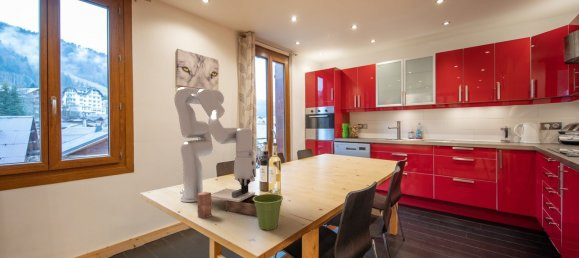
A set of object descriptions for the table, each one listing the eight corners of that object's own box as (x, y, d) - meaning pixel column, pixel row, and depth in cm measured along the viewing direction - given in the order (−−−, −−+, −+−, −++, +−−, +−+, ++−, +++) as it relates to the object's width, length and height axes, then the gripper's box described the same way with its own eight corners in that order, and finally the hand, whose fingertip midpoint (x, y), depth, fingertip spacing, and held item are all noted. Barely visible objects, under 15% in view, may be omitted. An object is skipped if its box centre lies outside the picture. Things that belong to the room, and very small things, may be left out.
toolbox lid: (208, 197, 114) (208, 190, 114) (226, 190, 126) (226, 183, 126) (238, 202, 107) (238, 194, 106) (254, 194, 118) (254, 187, 118)
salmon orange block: (197, 217, 104) (197, 194, 104) (204, 213, 107) (204, 191, 107) (204, 218, 102) (204, 195, 102) (211, 215, 106) (211, 192, 106)
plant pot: (289, 225, 94) (289, 197, 94) (267, 236, 85) (267, 205, 85) (269, 218, 102) (268, 191, 101) (246, 227, 93) (246, 198, 93)
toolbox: (225, 211, 110) (225, 200, 110) (242, 202, 122) (242, 193, 122) (259, 217, 102) (258, 206, 102) (273, 207, 114) (273, 197, 114)
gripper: (262, 154, 113) (262, 192, 113) (236, 152, 119) (237, 189, 120) (253, 156, 106) (253, 197, 106) (226, 154, 112) (227, 193, 113)
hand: (244, 192), depth 113 cm, fingers closed
